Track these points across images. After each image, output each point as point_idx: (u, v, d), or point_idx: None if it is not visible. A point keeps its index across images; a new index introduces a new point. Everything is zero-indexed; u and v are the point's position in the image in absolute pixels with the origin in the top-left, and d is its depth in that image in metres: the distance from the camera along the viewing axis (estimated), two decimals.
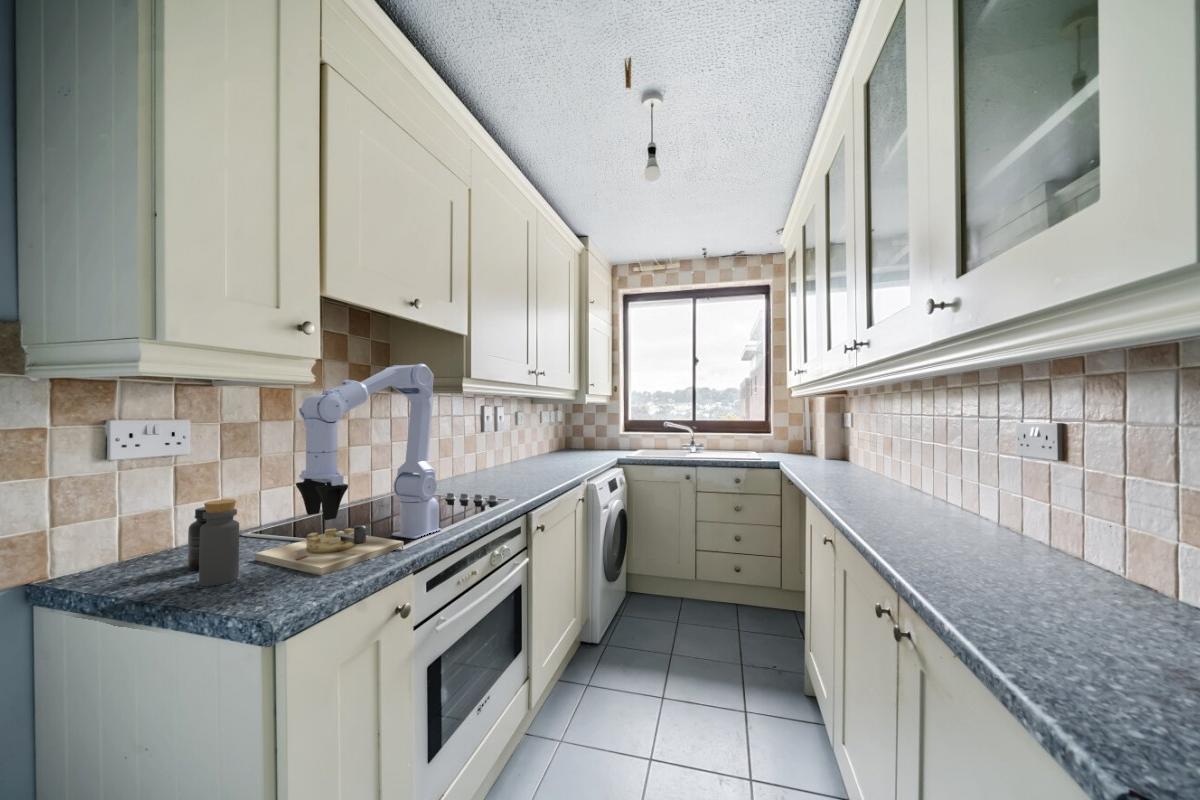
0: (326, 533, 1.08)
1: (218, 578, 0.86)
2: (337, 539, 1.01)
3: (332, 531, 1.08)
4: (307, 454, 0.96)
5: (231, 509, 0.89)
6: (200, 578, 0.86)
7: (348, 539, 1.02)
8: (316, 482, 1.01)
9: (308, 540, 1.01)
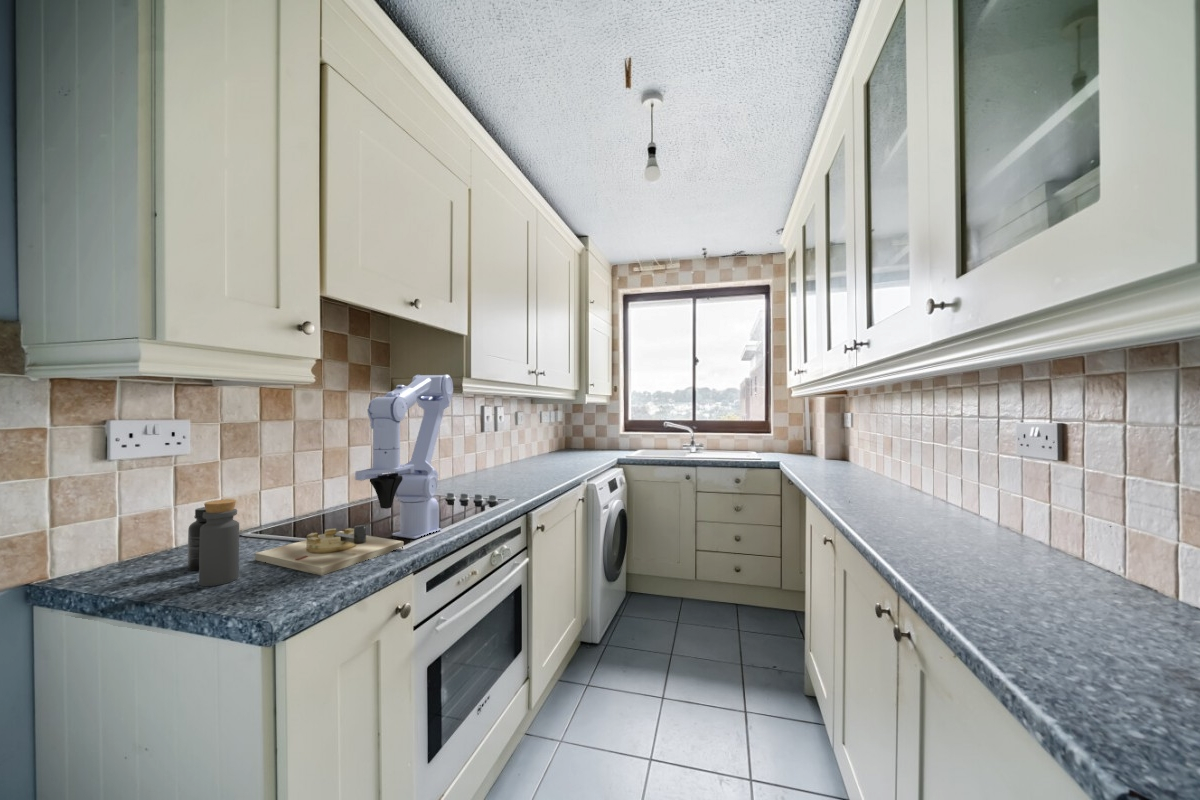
0: (326, 533, 1.08)
1: (218, 578, 0.86)
2: (337, 539, 1.01)
3: (332, 531, 1.08)
4: None
5: (231, 509, 0.89)
6: (200, 578, 0.86)
7: (348, 539, 1.02)
8: (388, 478, 1.08)
9: (308, 540, 1.01)
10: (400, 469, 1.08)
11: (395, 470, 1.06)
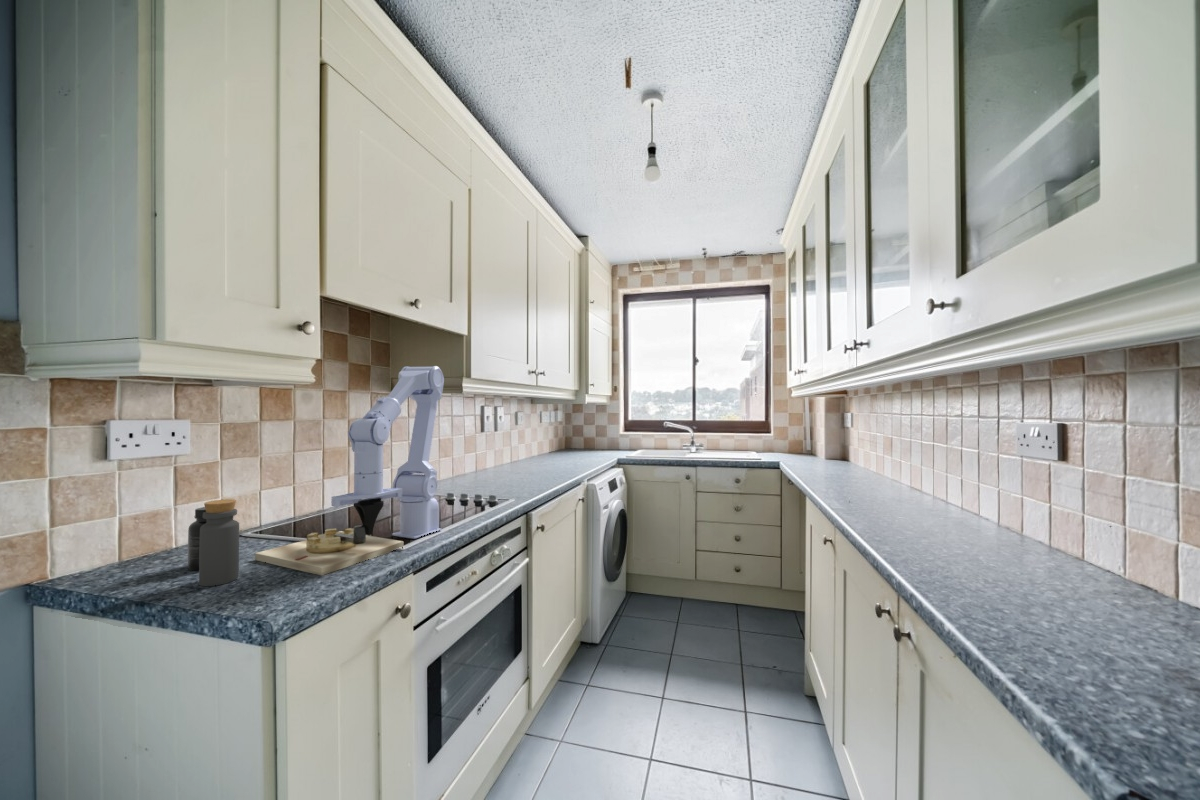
0: (326, 533, 1.08)
1: (218, 578, 0.86)
2: (337, 539, 1.01)
3: (332, 531, 1.08)
4: None
5: (231, 509, 0.89)
6: (200, 578, 0.86)
7: (348, 539, 1.02)
8: None
9: (308, 540, 1.01)
10: (381, 494, 1.03)
11: (374, 496, 1.01)
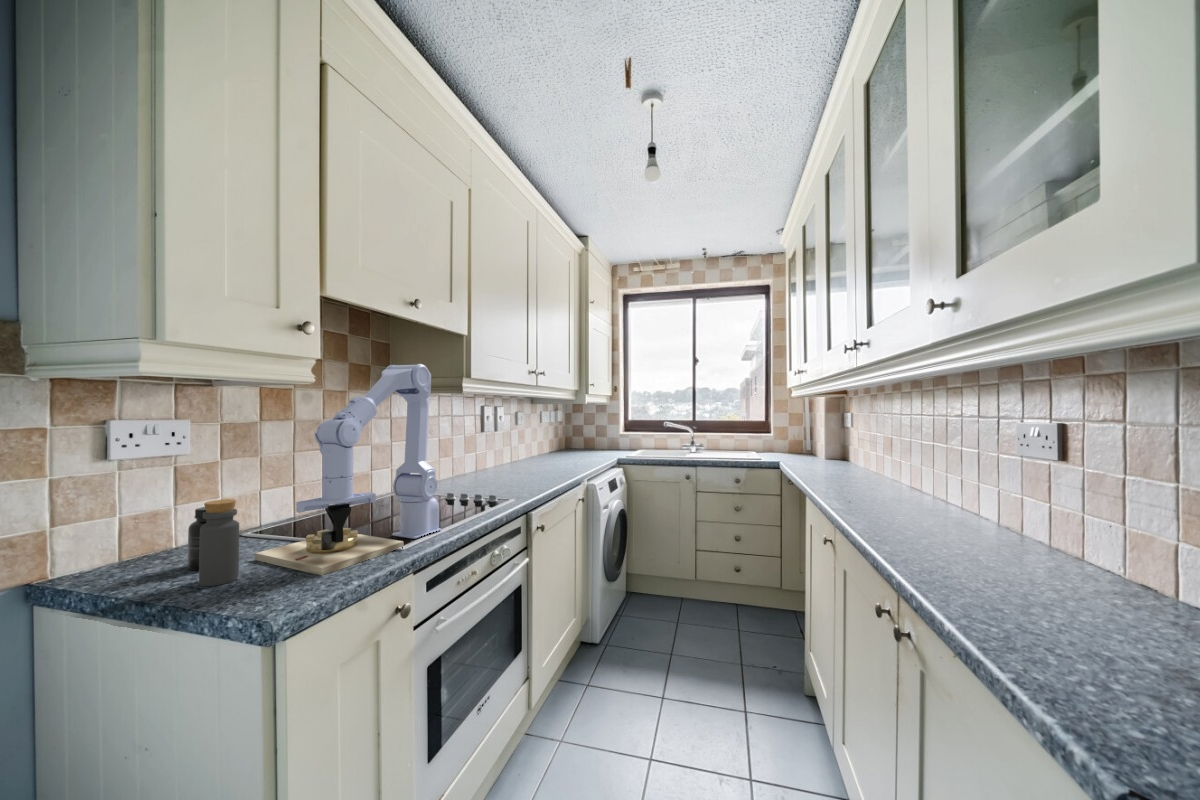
0: None
1: (218, 578, 0.86)
2: (319, 541, 1.00)
3: (344, 531, 1.09)
4: None
5: (231, 509, 0.89)
6: (200, 578, 0.86)
7: None
8: None
9: None
10: (350, 500, 0.97)
11: (341, 501, 0.96)
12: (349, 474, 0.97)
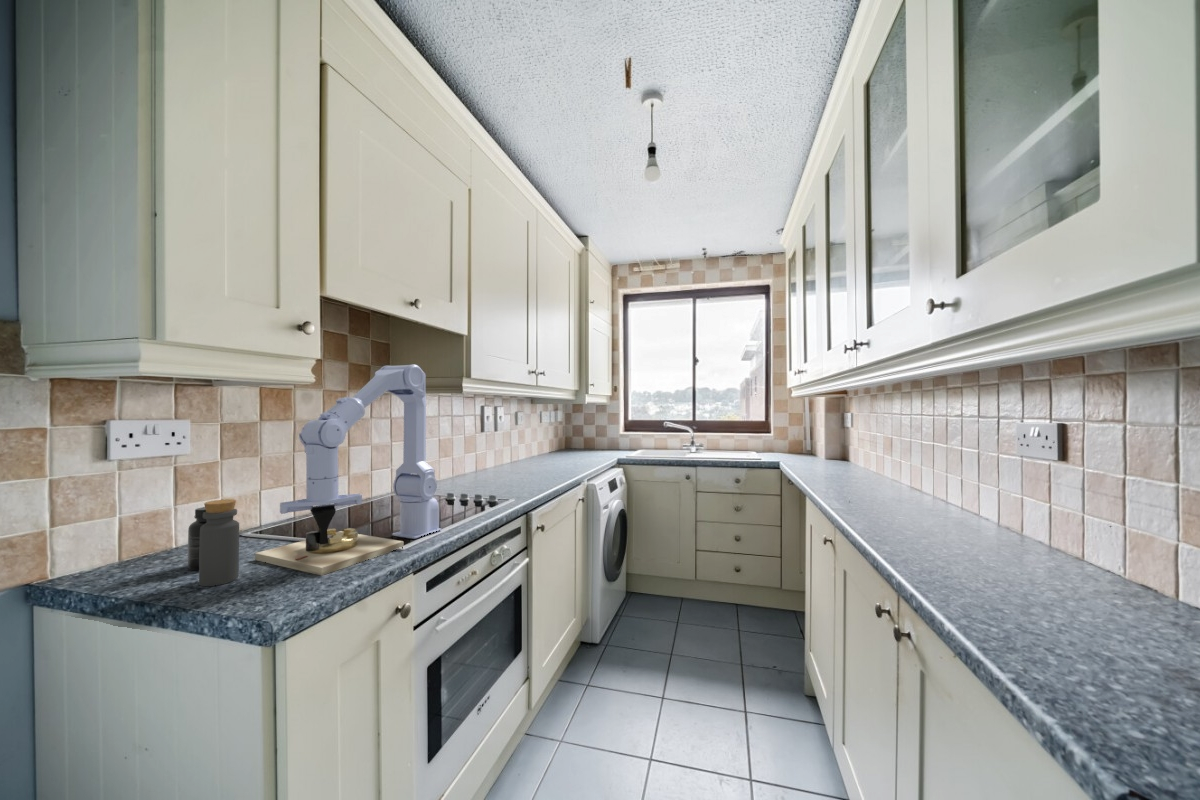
0: (344, 532, 1.09)
1: (218, 578, 0.86)
2: None
3: (347, 531, 1.08)
4: None
5: (231, 509, 0.89)
6: (200, 578, 0.86)
7: None
8: None
9: None
10: (334, 501, 0.96)
11: (324, 503, 0.94)
12: (333, 475, 0.96)
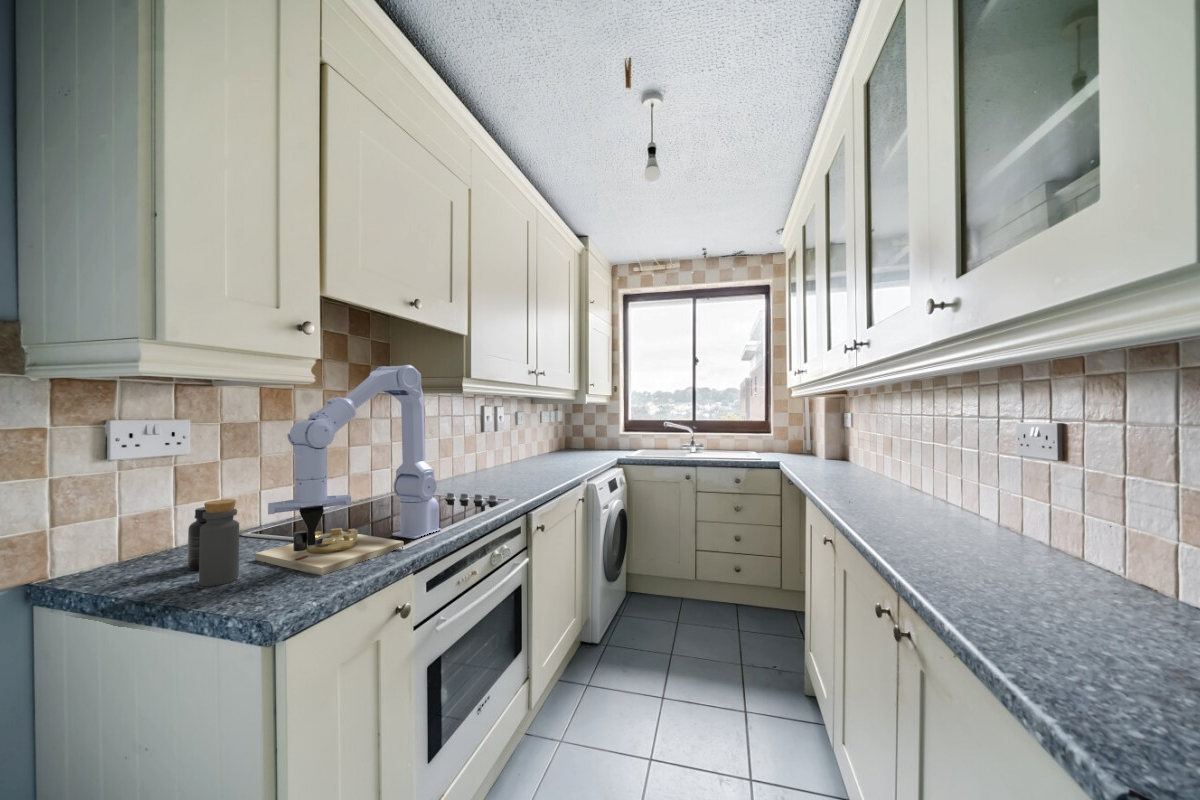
0: (347, 532, 1.08)
1: (218, 578, 0.86)
2: None
3: (350, 532, 1.08)
4: None
5: (231, 509, 0.89)
6: (200, 578, 0.86)
7: None
8: None
9: None
10: (321, 502, 0.95)
11: (311, 504, 0.94)
12: (321, 476, 0.95)
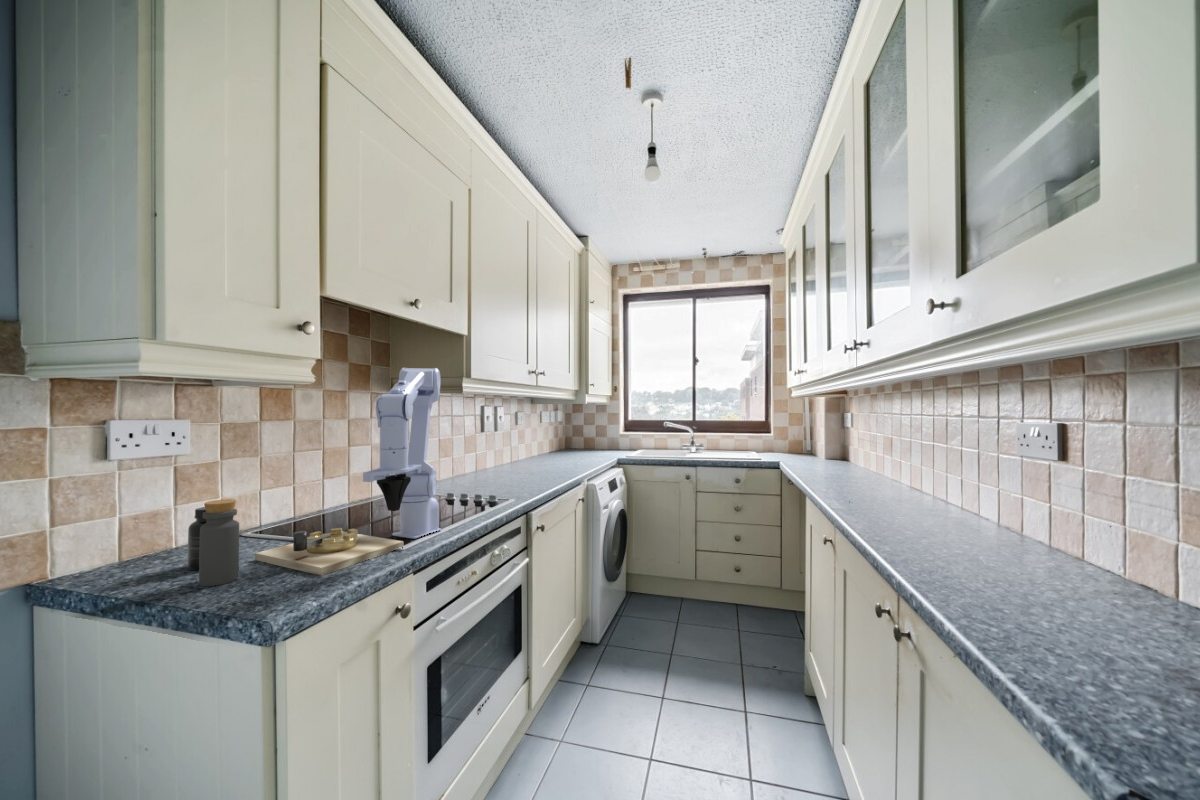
0: (347, 532, 1.08)
1: (218, 578, 0.86)
2: (308, 539, 1.01)
3: (350, 532, 1.08)
4: None
5: (231, 509, 0.89)
6: (200, 578, 0.86)
7: None
8: (396, 479, 1.03)
9: None
10: (408, 469, 1.03)
11: (404, 471, 1.02)
12: (407, 445, 1.03)
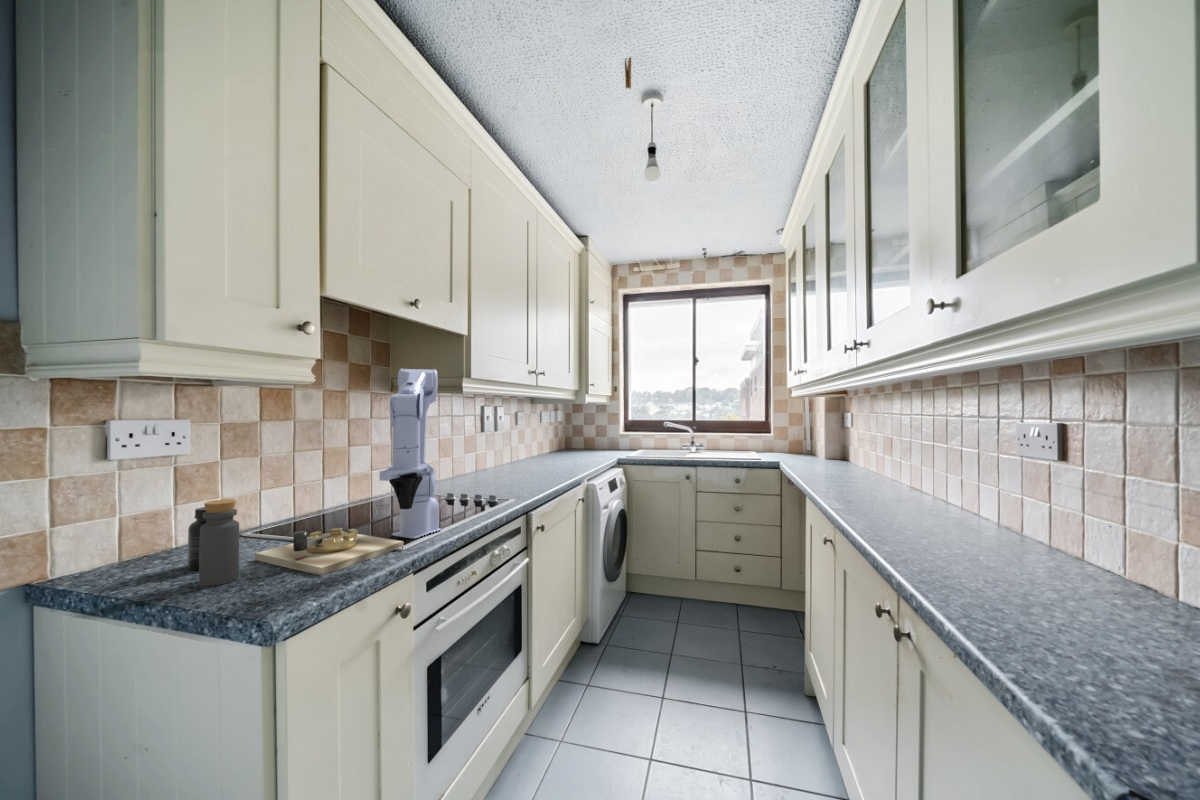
0: (347, 532, 1.08)
1: (218, 578, 0.86)
2: (308, 539, 1.01)
3: (350, 532, 1.08)
4: None
5: (231, 509, 0.89)
6: (200, 578, 0.86)
7: None
8: None
9: None
10: (421, 468, 1.05)
11: (417, 469, 1.03)
12: (419, 445, 1.05)
